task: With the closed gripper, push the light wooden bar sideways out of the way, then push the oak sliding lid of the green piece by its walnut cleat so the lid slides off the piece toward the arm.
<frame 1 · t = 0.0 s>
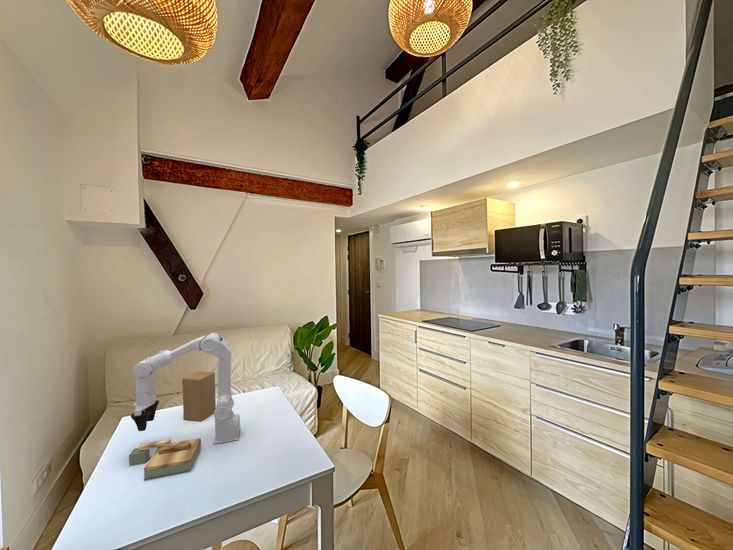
hand: (146, 425, 116), 10 cm above the table, fingers open, 7 cm apart
wooden block: (200, 416, 144), on the table
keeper: (140, 461, 110), on the table
lid: (174, 451, 109), point 4 cm above the table, slide at 0.0 cm
light wooden bar: (155, 444, 111), point 5 cm above the table, slide at 0.0 cm
green piece: (175, 462, 109), on the table
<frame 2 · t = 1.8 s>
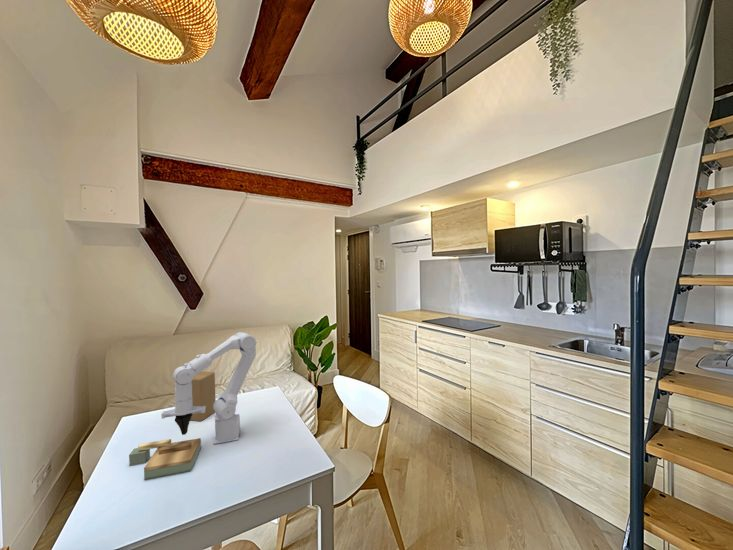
hand: (184, 433, 114), 8 cm above the table, fingers closed
nothing on the table moved.
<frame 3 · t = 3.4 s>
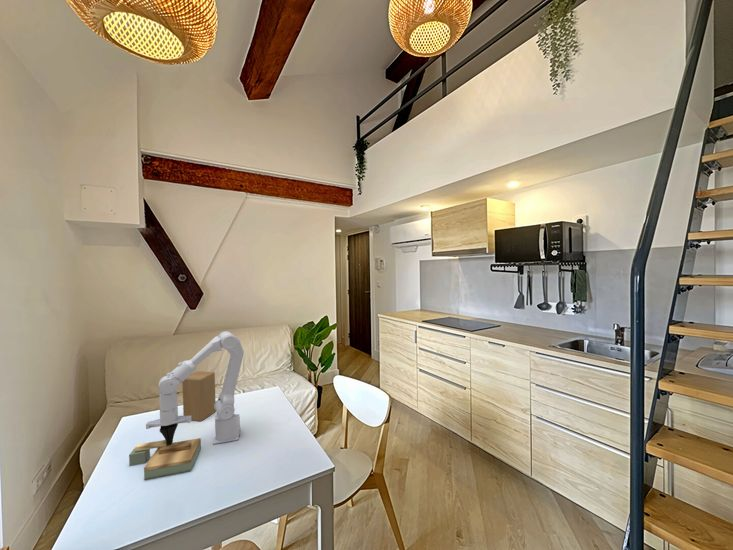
hand: (169, 443, 113), 5 cm above the table, fingers closed
light wooden bar: (151, 445, 111), point 5 cm above the table, slide at 1.1 cm, touching gripper
everything else where it was.
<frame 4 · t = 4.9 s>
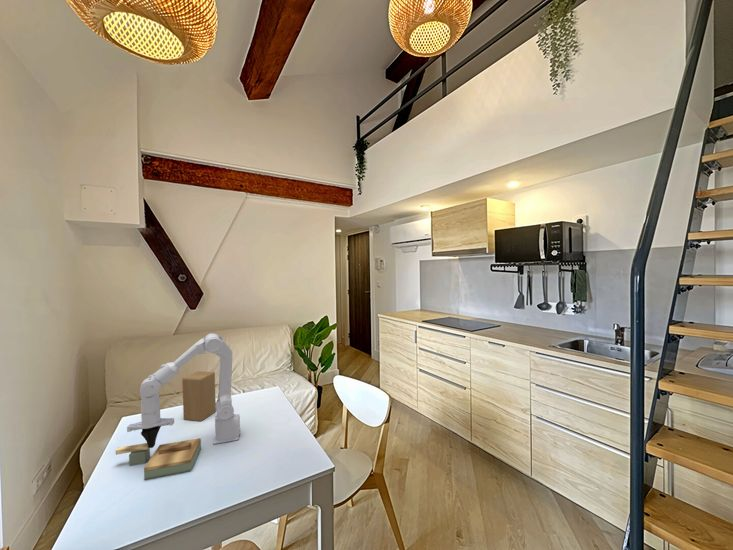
hand: (152, 446, 111), 5 cm above the table, fingers closed
light wooden bar: (133, 448, 109), point 5 cm above the table, slide at 7.0 cm, touching gripper
everything else where it was.
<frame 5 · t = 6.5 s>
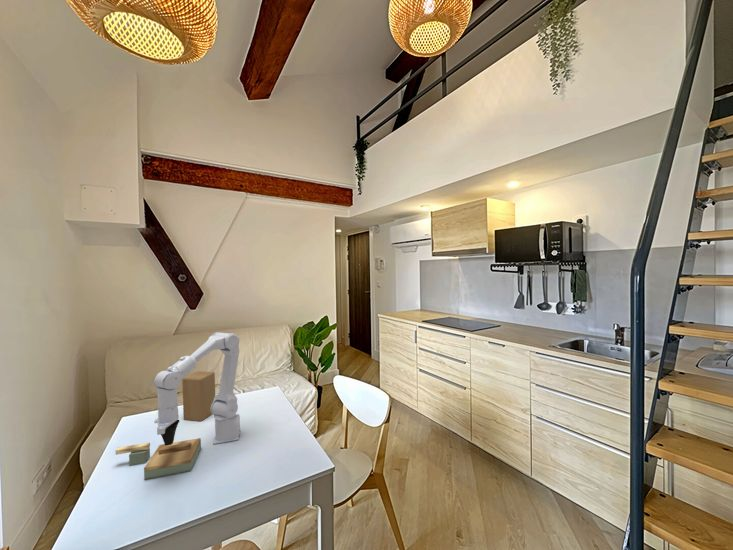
hand: (169, 444, 104), 10 cm above the table, fingers closed
light wooden bar: (133, 448, 109), point 5 cm above the table, slide at 7.0 cm
everything else where it was.
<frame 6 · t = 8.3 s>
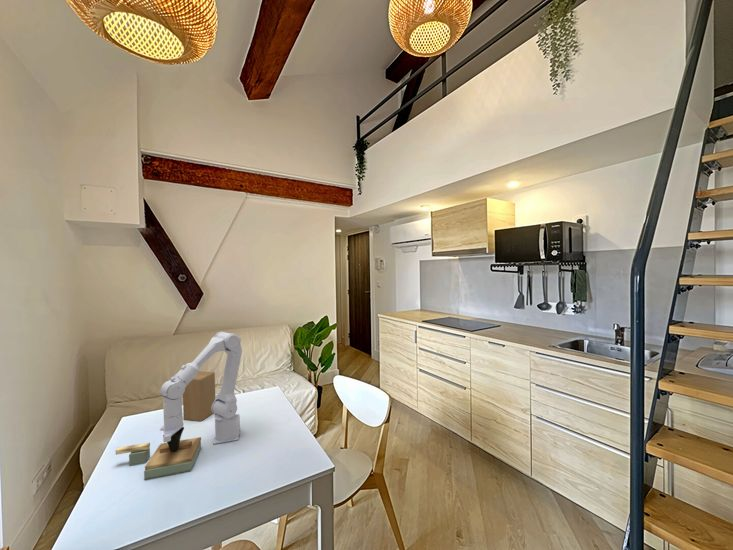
hand: (174, 450, 108), 5 cm above the table, fingers closed
lid: (175, 450, 109), point 4 cm above the table, slide at 0.8 cm, touching gripper
everything else where it was.
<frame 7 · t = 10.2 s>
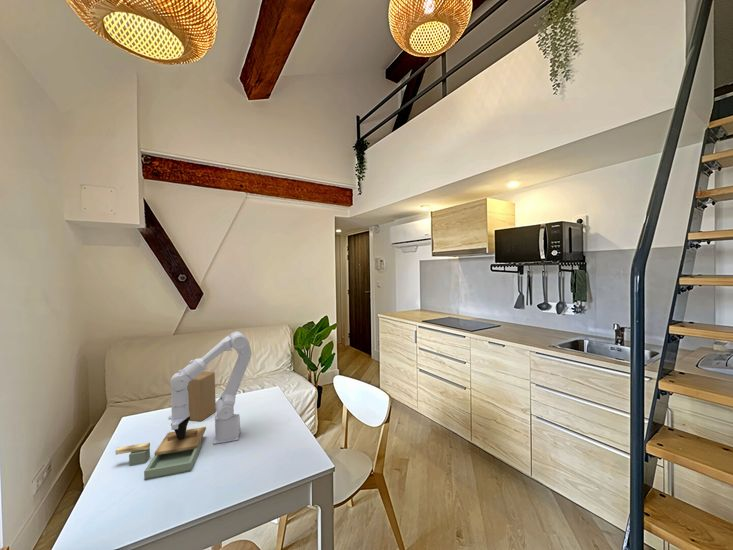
hand: (181, 438, 116), 5 cm above the table, fingers closed
lid: (182, 438, 117), point 4 cm above the table, slide at 8.9 cm, touching gripper
everything else where it was.
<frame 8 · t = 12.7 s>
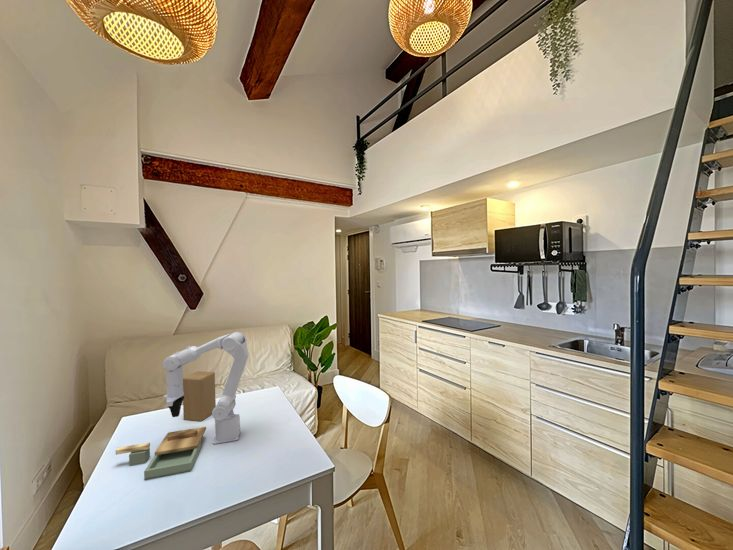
hand: (175, 416, 123), 10 cm above the table, fingers closed
lid: (182, 438, 117), point 4 cm above the table, slide at 8.9 cm
everything else where it was.
at the end: light wooden bar slide at 7.0 cm; lid slide at 8.9 cm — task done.
